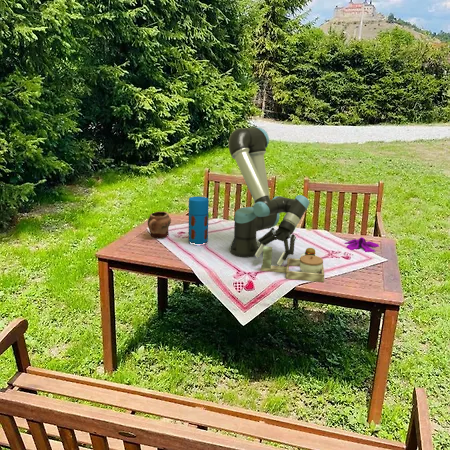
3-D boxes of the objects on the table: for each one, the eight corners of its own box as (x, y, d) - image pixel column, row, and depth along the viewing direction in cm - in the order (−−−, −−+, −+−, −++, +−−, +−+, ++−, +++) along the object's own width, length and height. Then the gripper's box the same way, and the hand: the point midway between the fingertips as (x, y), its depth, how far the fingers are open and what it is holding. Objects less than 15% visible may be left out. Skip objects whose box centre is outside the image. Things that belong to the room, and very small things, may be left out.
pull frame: (259, 276, 201) (260, 253, 198) (262, 262, 217) (264, 241, 214) (323, 282, 197) (326, 259, 193) (322, 267, 213) (324, 246, 209)
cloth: (380, 244, 250) (381, 234, 248) (379, 255, 233) (381, 244, 231) (340, 239, 257) (341, 229, 255) (337, 249, 240) (338, 238, 238)
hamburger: (293, 258, 226) (294, 248, 224) (305, 252, 235) (306, 242, 233) (313, 264, 219) (314, 254, 217) (325, 258, 227) (326, 248, 226)
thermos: (200, 247, 236) (201, 202, 228) (184, 243, 241) (184, 199, 234) (211, 241, 245) (212, 198, 237) (196, 237, 250) (196, 195, 242)
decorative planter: (161, 244, 239) (160, 219, 234) (141, 241, 242) (140, 217, 238) (175, 233, 257) (175, 210, 253) (156, 230, 260) (155, 208, 256)
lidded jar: (295, 270, 209) (296, 252, 206) (315, 269, 211) (317, 251, 208) (304, 280, 199) (305, 260, 196) (325, 278, 201) (327, 259, 198)
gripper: (313, 234, 206) (291, 272, 201) (272, 221, 223) (251, 256, 217) (307, 226, 201) (285, 264, 195) (266, 214, 217) (244, 249, 212)
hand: (267, 260), depth 206 cm, fingers open, 13 cm apart
